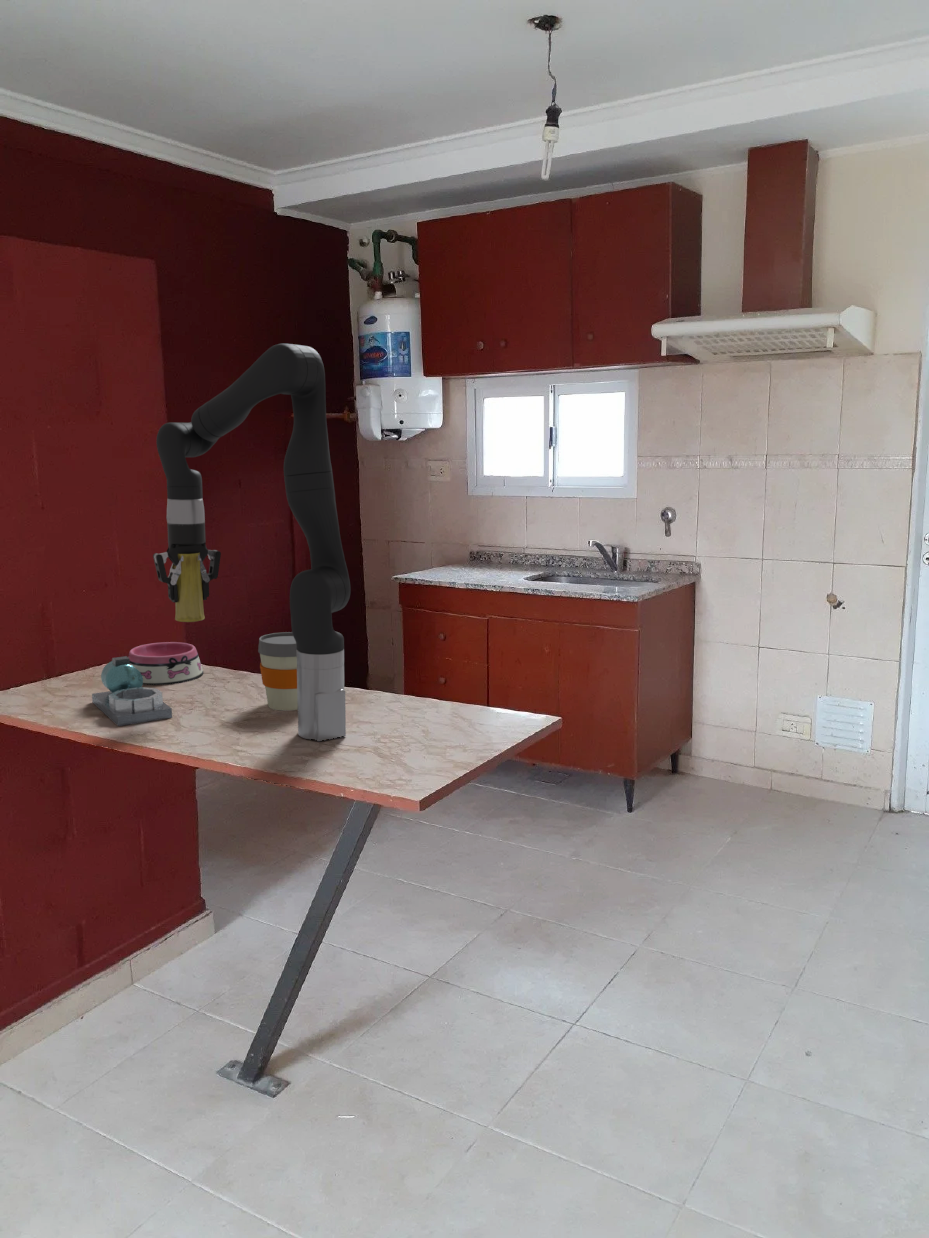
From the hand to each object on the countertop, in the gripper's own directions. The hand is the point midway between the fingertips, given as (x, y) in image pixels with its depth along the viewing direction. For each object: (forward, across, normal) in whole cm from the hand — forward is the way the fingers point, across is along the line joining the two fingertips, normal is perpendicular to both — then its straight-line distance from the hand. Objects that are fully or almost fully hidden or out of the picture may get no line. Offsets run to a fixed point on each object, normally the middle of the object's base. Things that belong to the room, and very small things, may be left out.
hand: (189, 600), depth 202 cm
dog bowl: (+24, +3, +31) cm, 39 cm away
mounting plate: (+24, -12, +6) cm, 27 cm away
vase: (+4, 0, 0) cm, 4 cm away
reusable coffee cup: (+24, +18, -8) cm, 31 cm away
